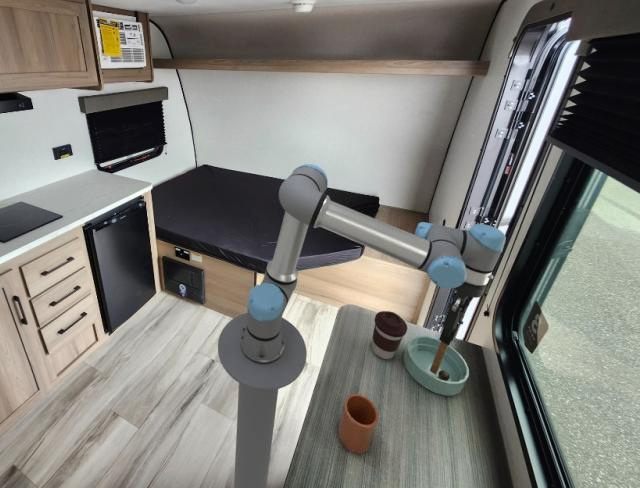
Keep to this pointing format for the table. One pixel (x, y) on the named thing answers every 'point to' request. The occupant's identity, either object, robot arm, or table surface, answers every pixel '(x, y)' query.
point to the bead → (443, 375)
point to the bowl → (420, 362)
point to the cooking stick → (439, 357)
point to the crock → (357, 423)
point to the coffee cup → (387, 333)
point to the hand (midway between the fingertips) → (445, 339)
